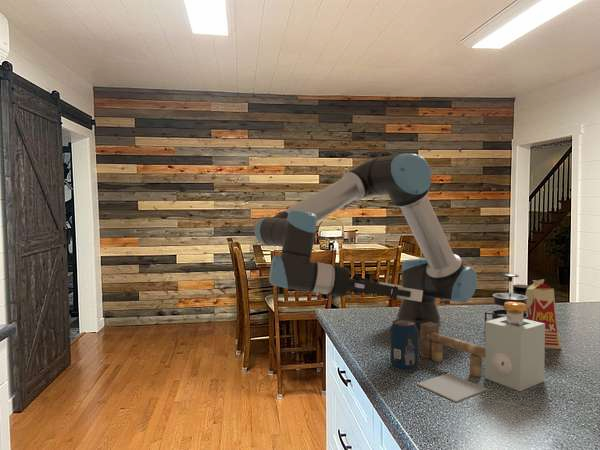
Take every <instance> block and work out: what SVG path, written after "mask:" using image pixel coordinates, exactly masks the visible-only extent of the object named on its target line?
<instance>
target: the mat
mask: <svg viewBox="0 0 600 450" xmlns="http://www.w3.org/2000/svg"><path fill="white" fill-rule="evenodd" d="M416 384H417V386H420V387H421V388H424V389H426V390H428V391H431V392H433V393H435V394H438V395H440V396H442V397H443V398H445V399H448V400H450V401H453V402H454V403H458V402H461V401H464V400H466V399H469V398H471V397H473V396H476V395H478V394H481V393H484V392H486V391H488V388H486V387H483V386H482V385H479V384H476V383H474V382H472V381H470V380H469V381H468V380H467V379H464V378H460V377H458V376H456V375H453V374H451V373H449V372H447V373H444V374H442V375H439V376H436V377H432V378H429V379H426V380H422V381H419V382H417V383H416Z"/></svg>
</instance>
